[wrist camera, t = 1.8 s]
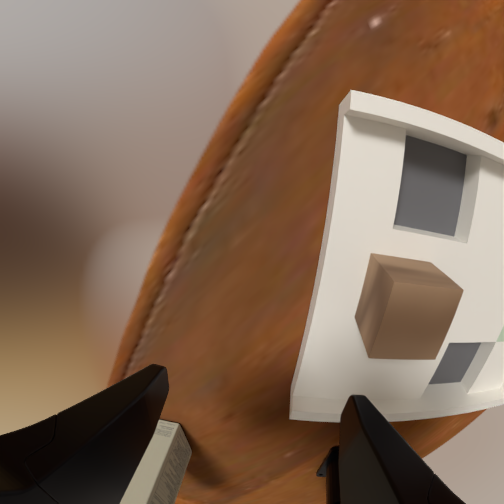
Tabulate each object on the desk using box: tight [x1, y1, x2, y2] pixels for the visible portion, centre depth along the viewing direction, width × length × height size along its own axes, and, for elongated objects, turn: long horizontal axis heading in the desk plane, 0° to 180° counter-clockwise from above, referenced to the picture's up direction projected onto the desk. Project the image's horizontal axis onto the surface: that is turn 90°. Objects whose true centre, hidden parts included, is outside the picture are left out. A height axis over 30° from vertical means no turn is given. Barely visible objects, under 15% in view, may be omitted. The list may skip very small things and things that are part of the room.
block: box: [354, 253, 464, 360], centre depth 13 cm, size 4×4×4 cm
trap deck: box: [289, 90, 504, 422], centre depth 15 cm, size 20×22×4 cm
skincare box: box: [120, 420, 192, 504], centre depth 19 cm, size 6×4×12 cm
